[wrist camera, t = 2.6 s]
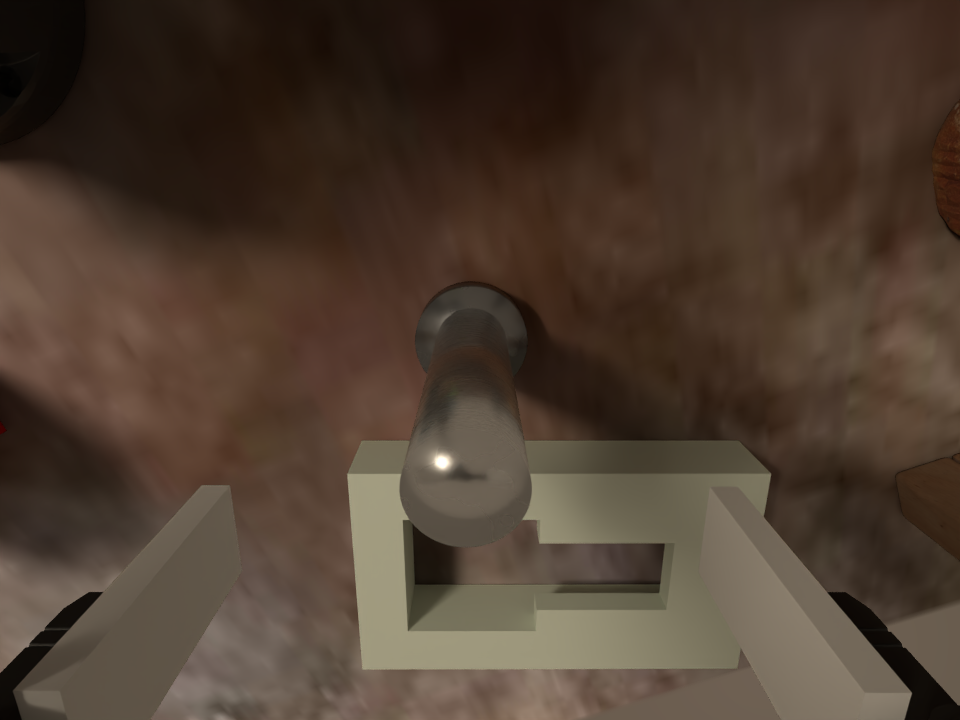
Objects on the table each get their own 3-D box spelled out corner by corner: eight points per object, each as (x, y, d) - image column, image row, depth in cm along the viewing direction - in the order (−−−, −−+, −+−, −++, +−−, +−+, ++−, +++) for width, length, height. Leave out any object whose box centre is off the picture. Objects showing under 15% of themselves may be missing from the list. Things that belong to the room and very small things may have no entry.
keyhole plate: (374, 619, 41) (362, 669, 37) (362, 440, 37) (347, 473, 32) (711, 619, 41) (737, 668, 37) (738, 440, 37) (771, 473, 33)
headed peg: (420, 384, 35) (365, 579, 18) (416, 281, 33) (352, 391, 16) (523, 384, 35) (566, 579, 18) (526, 281, 33) (577, 391, 16)
